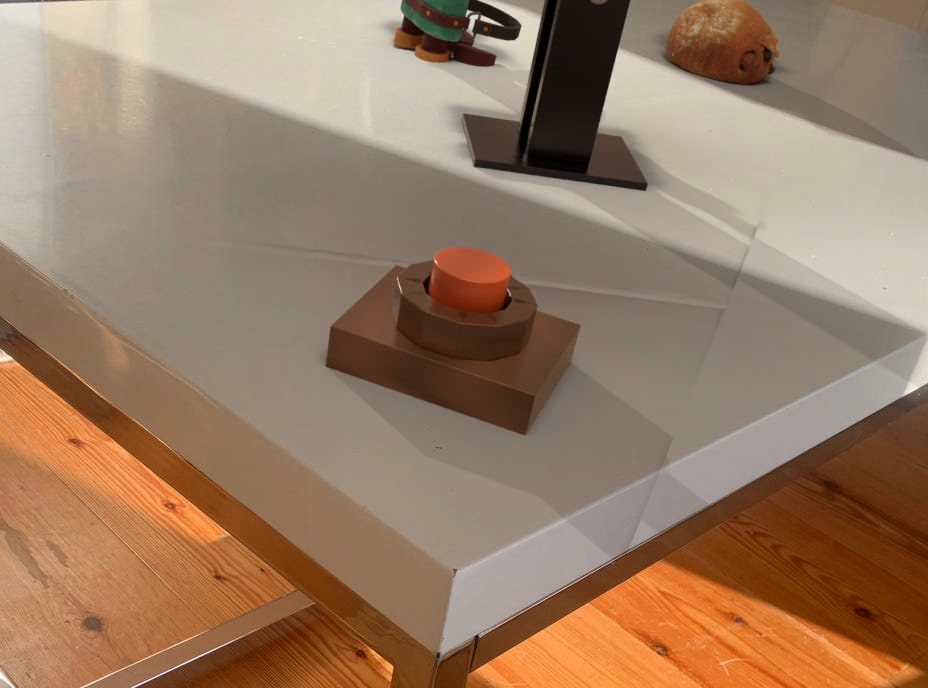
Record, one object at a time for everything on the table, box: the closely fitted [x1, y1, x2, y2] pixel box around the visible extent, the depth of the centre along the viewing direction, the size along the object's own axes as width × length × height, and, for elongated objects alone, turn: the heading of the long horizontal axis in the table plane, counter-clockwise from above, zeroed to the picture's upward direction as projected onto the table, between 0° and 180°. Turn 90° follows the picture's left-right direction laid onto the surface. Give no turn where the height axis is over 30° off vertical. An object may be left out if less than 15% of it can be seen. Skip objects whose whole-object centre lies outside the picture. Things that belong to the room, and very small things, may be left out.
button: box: [428, 246, 512, 313], centre depth 52 cm, size 4×4×2 cm
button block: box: [325, 259, 581, 436], centre depth 54 cm, size 10×8×4 cm
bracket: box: [461, 0, 649, 192], centre depth 75 cm, size 12×9×14 cm
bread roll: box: [665, 0, 780, 85], centre depth 107 cm, size 10×10×8 cm
